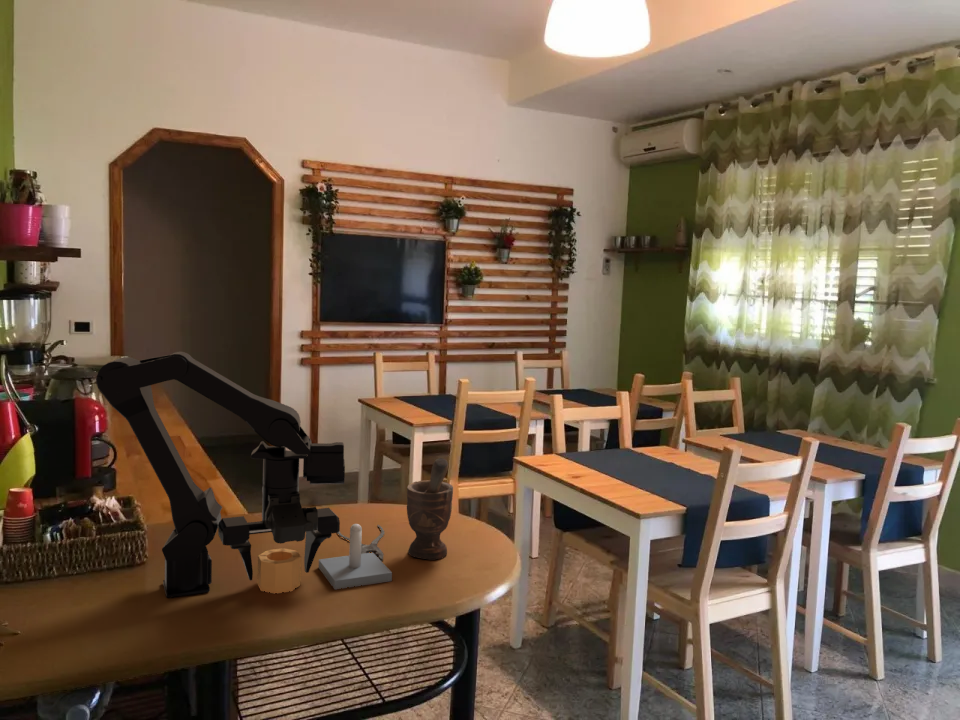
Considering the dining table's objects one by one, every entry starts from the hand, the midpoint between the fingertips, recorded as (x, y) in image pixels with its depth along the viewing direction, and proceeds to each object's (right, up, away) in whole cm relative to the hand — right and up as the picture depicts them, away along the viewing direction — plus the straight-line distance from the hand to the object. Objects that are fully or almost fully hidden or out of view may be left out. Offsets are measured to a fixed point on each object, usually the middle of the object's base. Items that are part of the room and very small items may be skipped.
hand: (279, 575), depth 125 cm
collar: (0, -2, 0) cm, 2 cm away
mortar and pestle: (+24, -1, +16) cm, 29 cm away
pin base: (+11, -2, +6) cm, 13 cm away
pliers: (+12, 0, +22) cm, 25 cm away
